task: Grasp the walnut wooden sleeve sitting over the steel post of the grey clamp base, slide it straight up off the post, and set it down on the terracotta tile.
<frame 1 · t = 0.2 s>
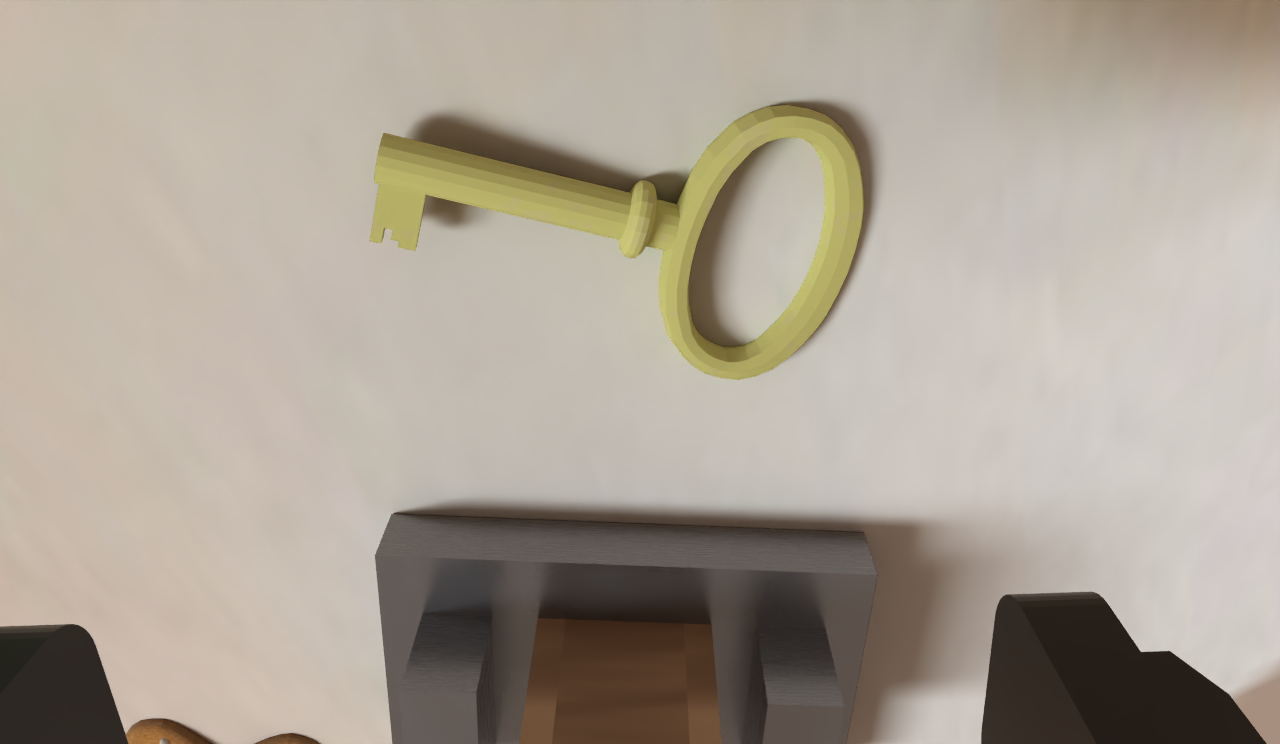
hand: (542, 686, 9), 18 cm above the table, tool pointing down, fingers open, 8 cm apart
grey clamp base: (623, 640, 31), on the table
key: (638, 208, 26), on the table
sleeve: (621, 686, 30), point 2 cm above the table, touching grey clamp base
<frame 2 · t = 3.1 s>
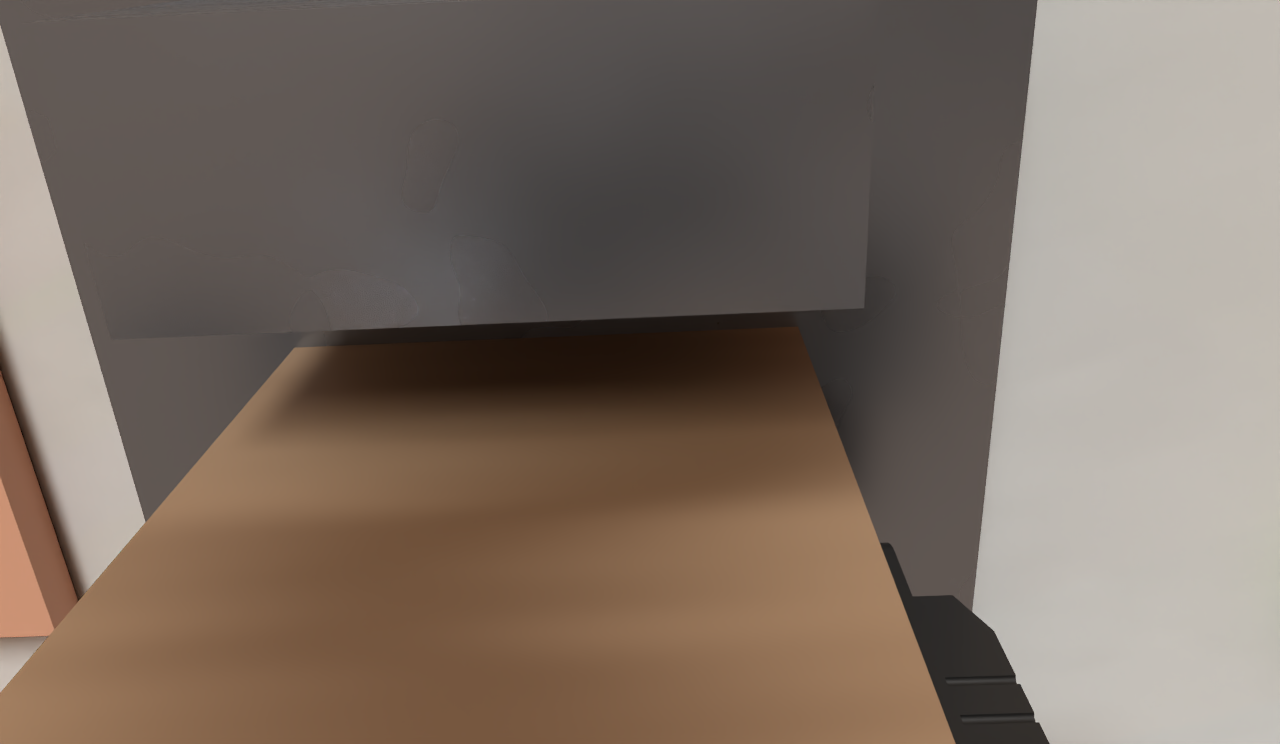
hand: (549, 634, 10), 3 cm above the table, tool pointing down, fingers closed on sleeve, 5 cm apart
grey clamp base: (576, 460, 13), on the table
sleeve: (564, 549, 11), point 2 cm above the table, touching gripper, grey clamp base
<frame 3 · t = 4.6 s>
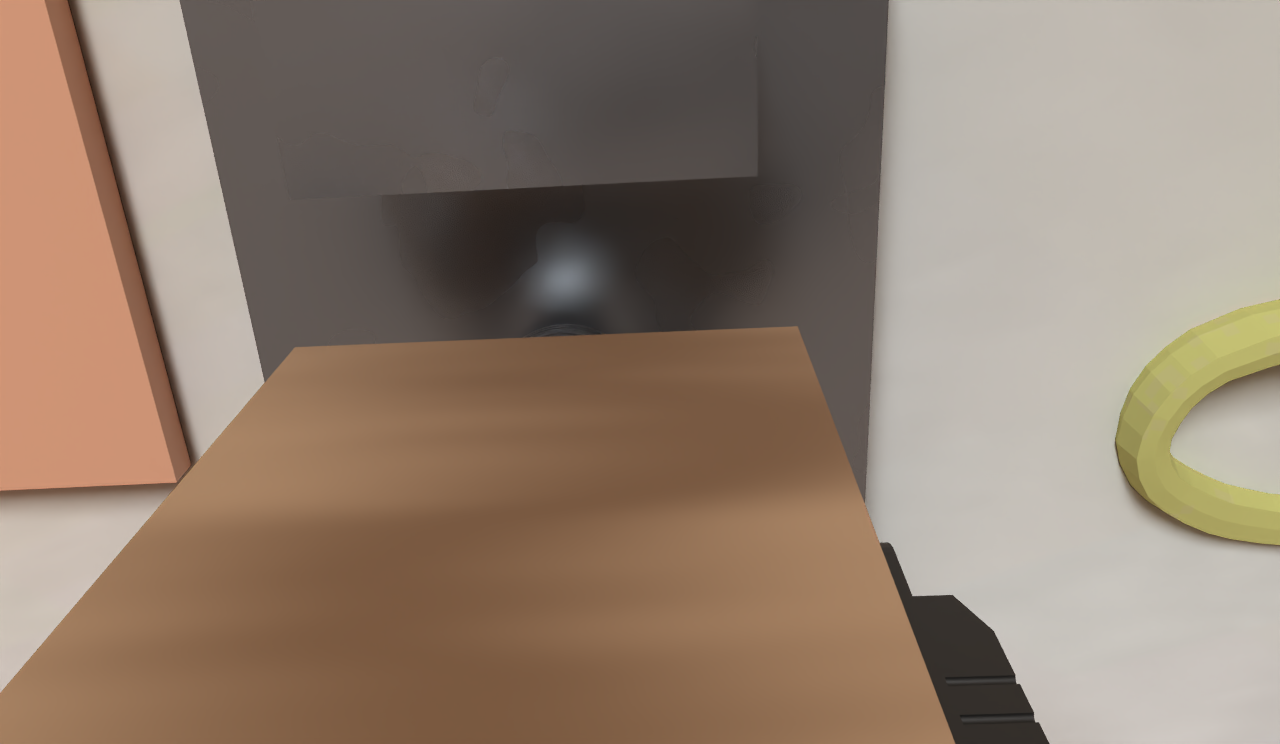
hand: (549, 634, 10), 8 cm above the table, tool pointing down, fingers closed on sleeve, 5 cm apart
grey clamp base: (576, 342, 17), on the table
sleeve: (564, 549, 11), point 6 cm above the table, touching gripper
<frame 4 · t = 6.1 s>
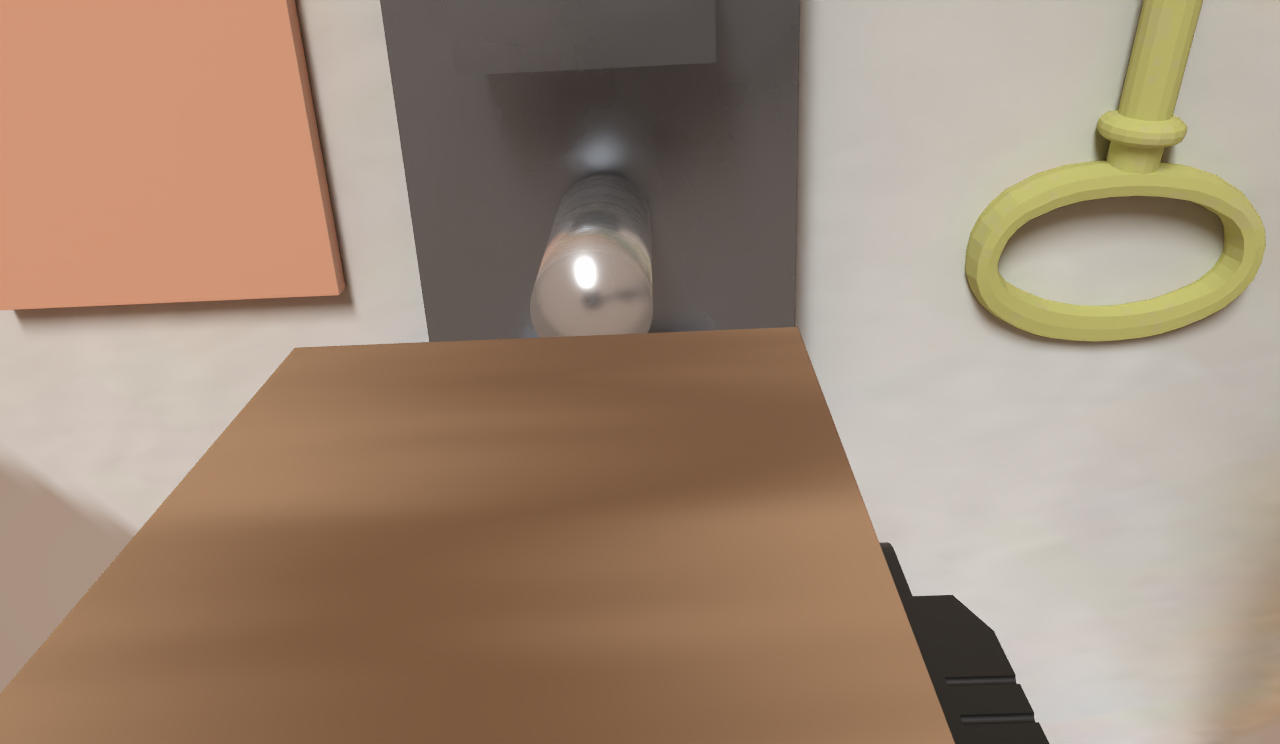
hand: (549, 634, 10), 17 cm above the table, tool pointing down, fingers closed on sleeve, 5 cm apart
grey clamp base: (606, 200, 25), on the table
key: (1115, 120, 25), on the table
sleeve: (564, 549, 11), point 16 cm above the table, touching gripper
tile: (132, 121, 24), on the table
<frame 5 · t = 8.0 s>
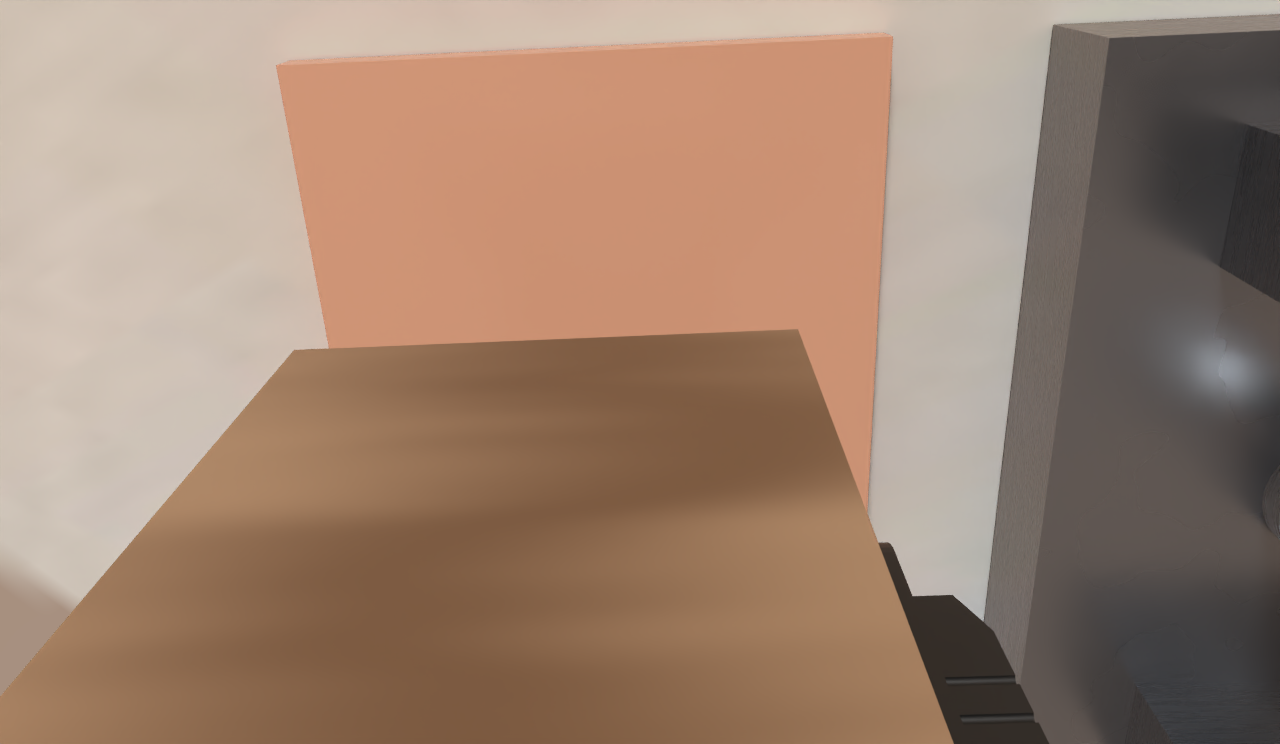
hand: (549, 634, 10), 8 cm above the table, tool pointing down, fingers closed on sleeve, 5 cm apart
grey clamp base: (1263, 432, 17), on the table
sleeve: (564, 552, 11), point 7 cm above the table, touching gripper
tile: (602, 324, 17), on the table
when the fingers open (4 cm above the table, at t = 9.4 s): sleeve drops 2 cm, resting on tile.
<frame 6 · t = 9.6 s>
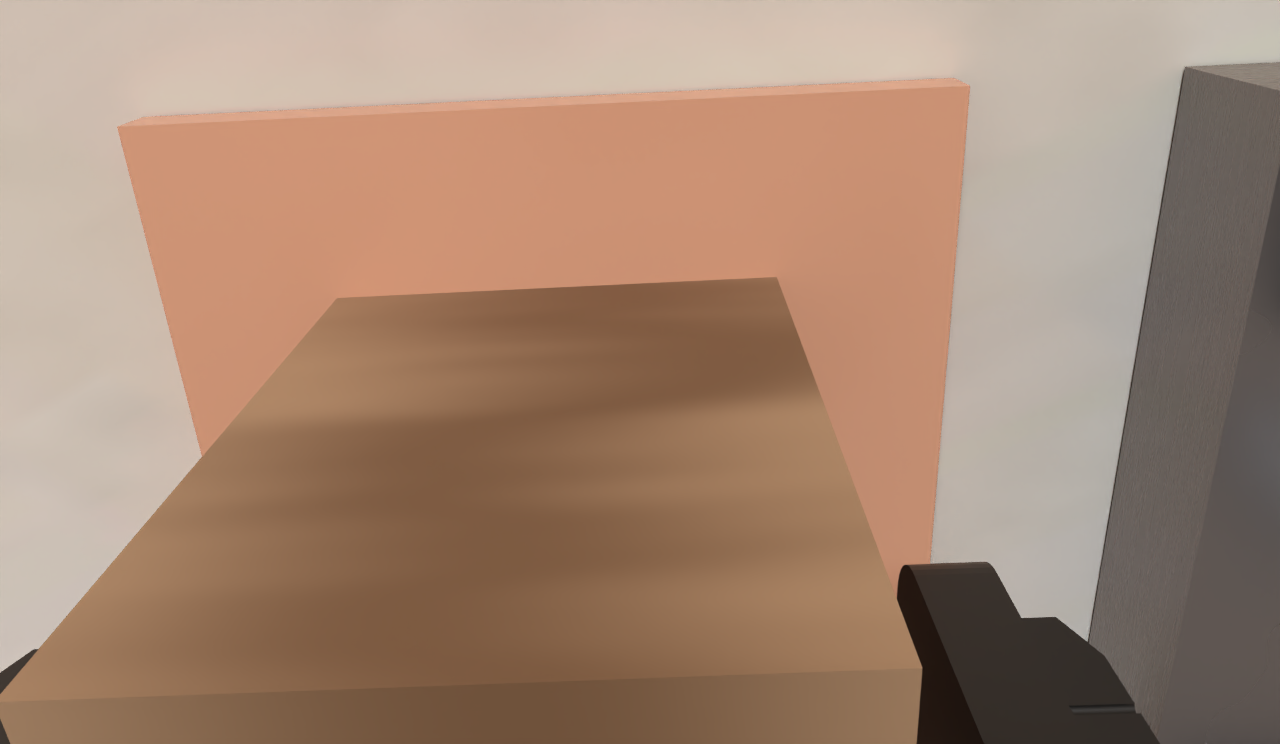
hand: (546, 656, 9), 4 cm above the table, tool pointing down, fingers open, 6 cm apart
sleeve: (573, 479, 12), point 1 cm above the table, touching tile
tile: (574, 455, 13), on the table
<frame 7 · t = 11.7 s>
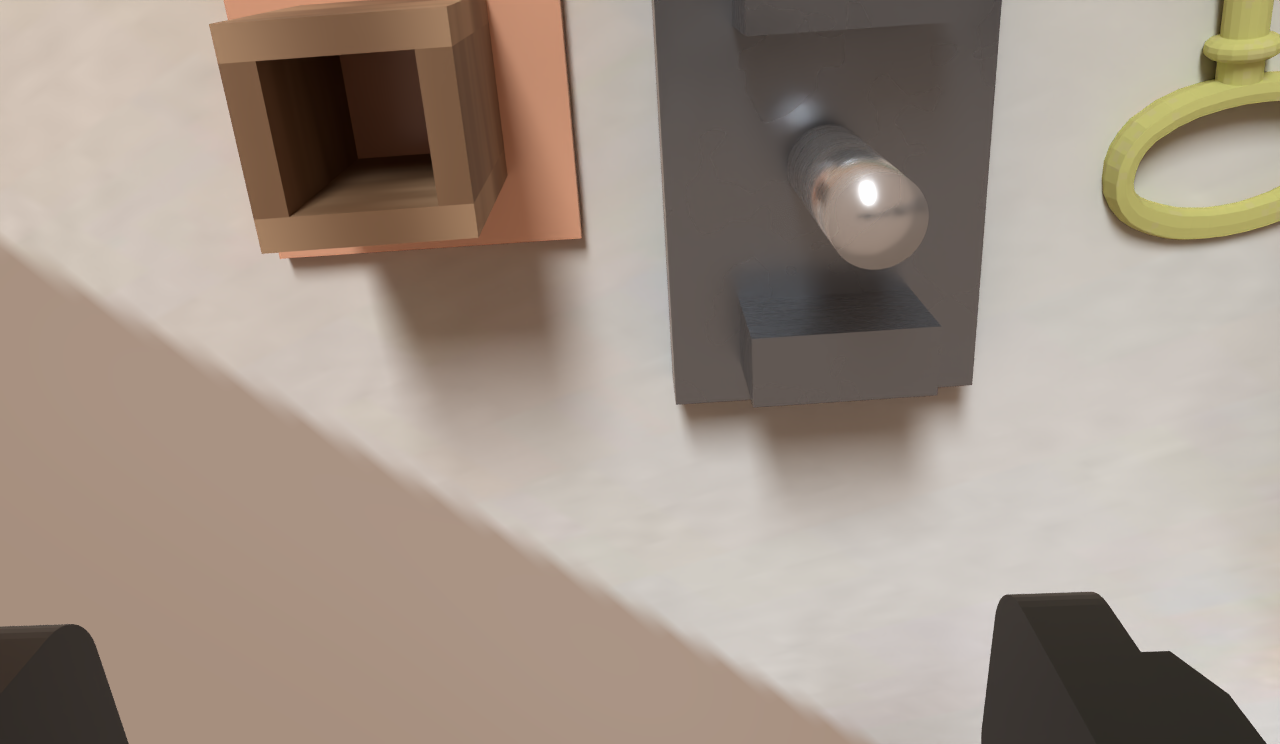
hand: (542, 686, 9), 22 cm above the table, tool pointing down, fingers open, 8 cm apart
grey clamp base: (813, 150, 29), on the table
key: (1216, 43, 29), on the table
sleeve: (407, 93, 28), point 1 cm above the table, touching tile
tile: (410, 90, 28), on the table
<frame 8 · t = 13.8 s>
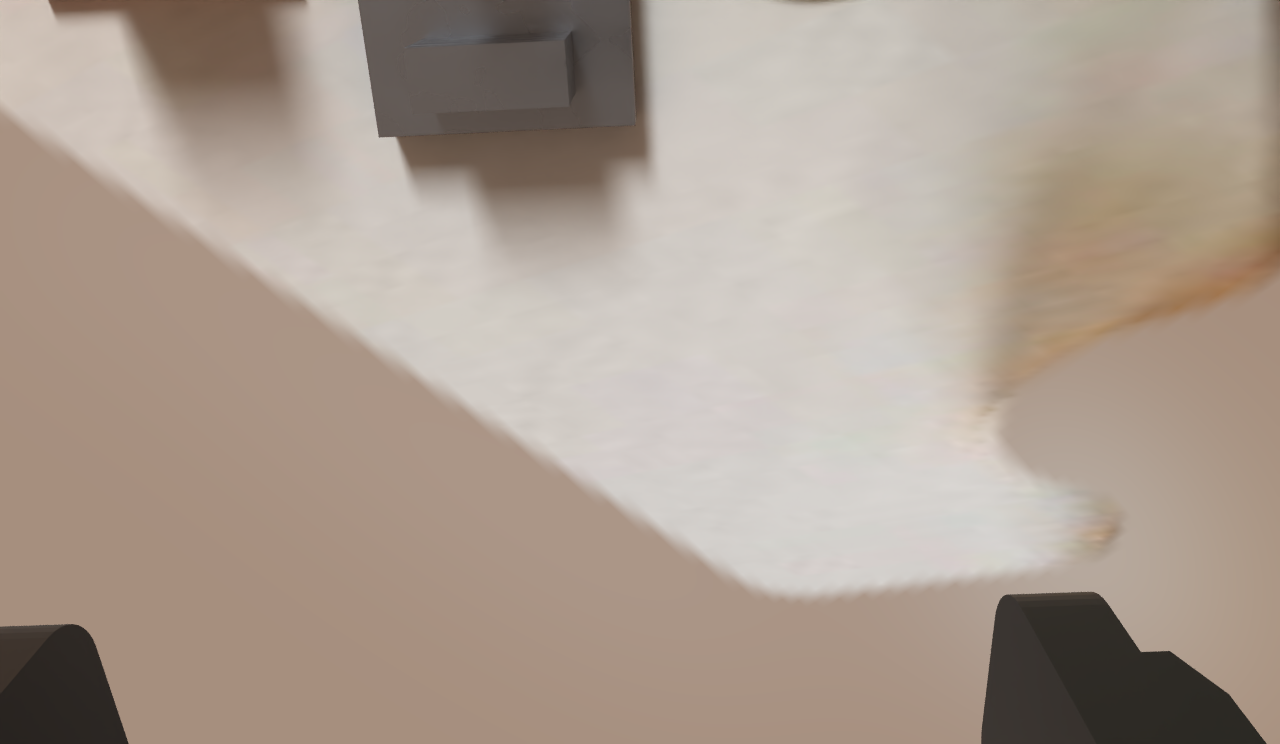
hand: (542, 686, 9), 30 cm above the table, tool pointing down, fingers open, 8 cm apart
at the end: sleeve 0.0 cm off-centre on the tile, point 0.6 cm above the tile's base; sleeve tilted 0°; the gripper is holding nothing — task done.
